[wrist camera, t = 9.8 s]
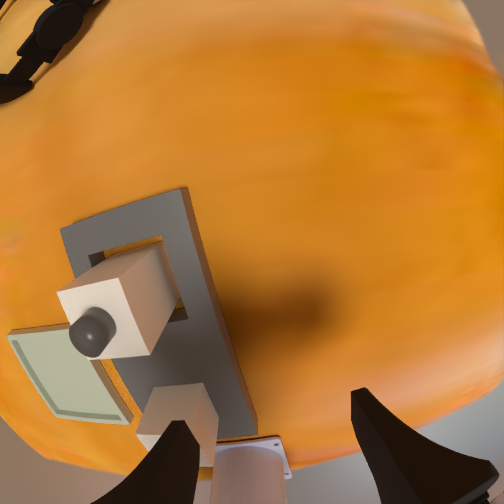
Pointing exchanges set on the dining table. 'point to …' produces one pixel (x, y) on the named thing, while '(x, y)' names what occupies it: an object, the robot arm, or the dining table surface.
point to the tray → (68, 376)
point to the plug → (121, 303)
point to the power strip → (174, 327)
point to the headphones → (43, 43)
